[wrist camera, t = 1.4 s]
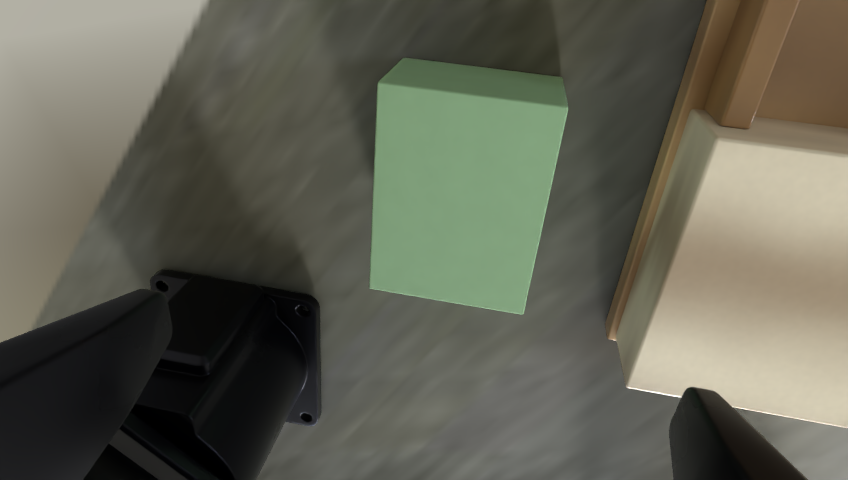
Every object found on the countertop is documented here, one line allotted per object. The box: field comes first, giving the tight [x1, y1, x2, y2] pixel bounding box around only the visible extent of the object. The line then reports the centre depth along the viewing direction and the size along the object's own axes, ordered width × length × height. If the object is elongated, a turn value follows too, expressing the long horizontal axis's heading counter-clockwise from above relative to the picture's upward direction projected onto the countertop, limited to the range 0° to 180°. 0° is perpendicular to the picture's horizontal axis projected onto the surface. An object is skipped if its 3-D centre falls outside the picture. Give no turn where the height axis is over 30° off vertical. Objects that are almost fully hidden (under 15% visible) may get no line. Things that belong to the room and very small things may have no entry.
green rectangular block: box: [369, 58, 568, 315], centre depth 16 cm, size 6×4×3 cm
